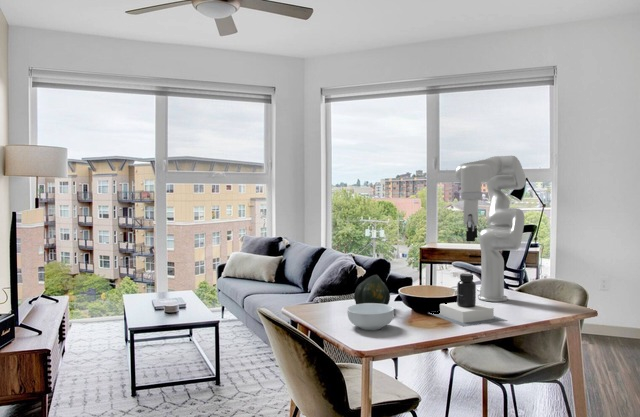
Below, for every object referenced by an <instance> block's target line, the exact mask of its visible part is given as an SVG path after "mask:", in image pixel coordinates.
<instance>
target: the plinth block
mask: <svg viewBox="0 0 640 417" xmlns="http://www.w3.org/2000/svg"><path fill="white" fill-rule="evenodd" d="M446 303H447V304H445V303H440V304H439V311H440V315H443V316H446V317H448V318H451V319H454V320H457V321H459V322H462V323H466V322H473V321H481V320H488V319H494V316H495V315H494V314H495V313H494V308H493V307H490V306H488V305H484V304H481V303H478V302H476V305H475V307H471V308H466V307H460V306H458V305H457V301H456V302H455V301H454V302H446Z"/></svg>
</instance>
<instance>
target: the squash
mask: <svg viewBox="0 0 640 417" xmlns="http://www.w3.org/2000/svg"><path fill="white" fill-rule="evenodd" d="M389 290H390V289H388V286H387V285H386V284H385V282H384V281H383V280H382V279H381V277H380V276H379V275H378V274H373V275H371V276H368V277H366V278H365V279H364V280H363V281H361V282H360V283H359V284H358V285H357V286H356V288H355V291H354V295H353V296H354V297H353V299H354V302H355V305H356V304H363V303H378V304H386V305H389V303H390V300H391V295H390V294H391V293H390V291H389Z"/></svg>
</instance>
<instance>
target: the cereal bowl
mask: <svg viewBox="0 0 640 417" xmlns="http://www.w3.org/2000/svg"><path fill="white" fill-rule="evenodd" d="M346 312H347V318H348V320H349V321H350V323H351V324H353V325H354V326H356V327H358V328H360V329H361V330H365V331H377V330H381V329H383V327H385V326H388V325H389V324H390V323H391V322H392V321H393V319H394V318H395V317H394V316H395V308H394V306H392V305H390V304H388V305H386V304H378V303H363V304H356V303H355V304H352V305H349V306H348V307H347V311H346Z"/></svg>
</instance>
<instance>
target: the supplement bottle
mask: <svg viewBox="0 0 640 417" xmlns="http://www.w3.org/2000/svg"><path fill="white" fill-rule="evenodd" d="M459 279H460V280H459V281H458V282H457V285H456V288H457V290H456V297H457V298H456V302H457V305H458V306H460V307H466V308H471V307H475V305H476V303H477V302H476V300H477V299H476V295H477V288H476V287H477V284H476V282H474V281H473V280H474V274H472V273H461V274H459Z"/></svg>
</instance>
